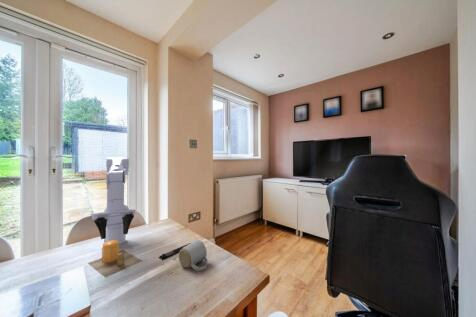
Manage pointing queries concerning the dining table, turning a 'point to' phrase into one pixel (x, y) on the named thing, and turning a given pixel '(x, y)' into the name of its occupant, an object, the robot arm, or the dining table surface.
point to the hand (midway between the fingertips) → (114, 236)
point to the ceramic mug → (193, 255)
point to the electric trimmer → (171, 253)
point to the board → (115, 263)
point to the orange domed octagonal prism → (110, 250)
